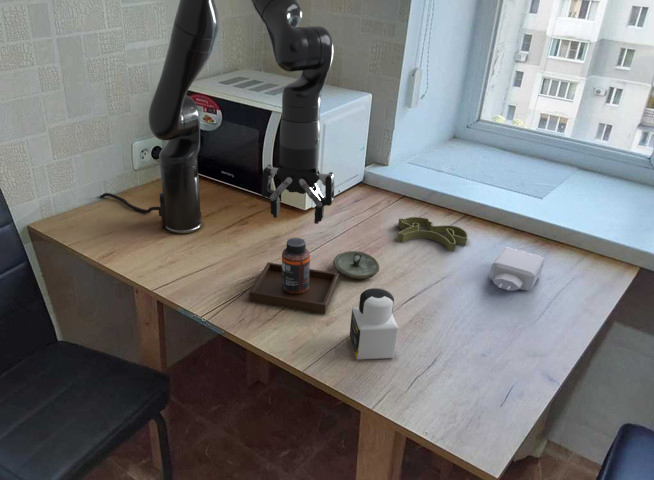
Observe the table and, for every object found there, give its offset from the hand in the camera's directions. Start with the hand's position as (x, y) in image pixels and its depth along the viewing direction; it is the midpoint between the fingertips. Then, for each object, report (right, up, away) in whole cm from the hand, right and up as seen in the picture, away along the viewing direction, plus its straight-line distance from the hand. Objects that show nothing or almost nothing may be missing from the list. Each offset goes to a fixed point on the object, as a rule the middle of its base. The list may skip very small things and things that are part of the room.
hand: (296, 219), depth 123 cm
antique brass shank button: (+14, -10, +17) cm, 24 cm away
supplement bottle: (0, -14, +9) cm, 17 cm away
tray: (0, -15, +9) cm, 17 cm away
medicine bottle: (+14, -25, -8) cm, 30 cm away
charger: (+48, -13, +13) cm, 52 cm away
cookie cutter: (+35, -1, +32) cm, 48 cm away
